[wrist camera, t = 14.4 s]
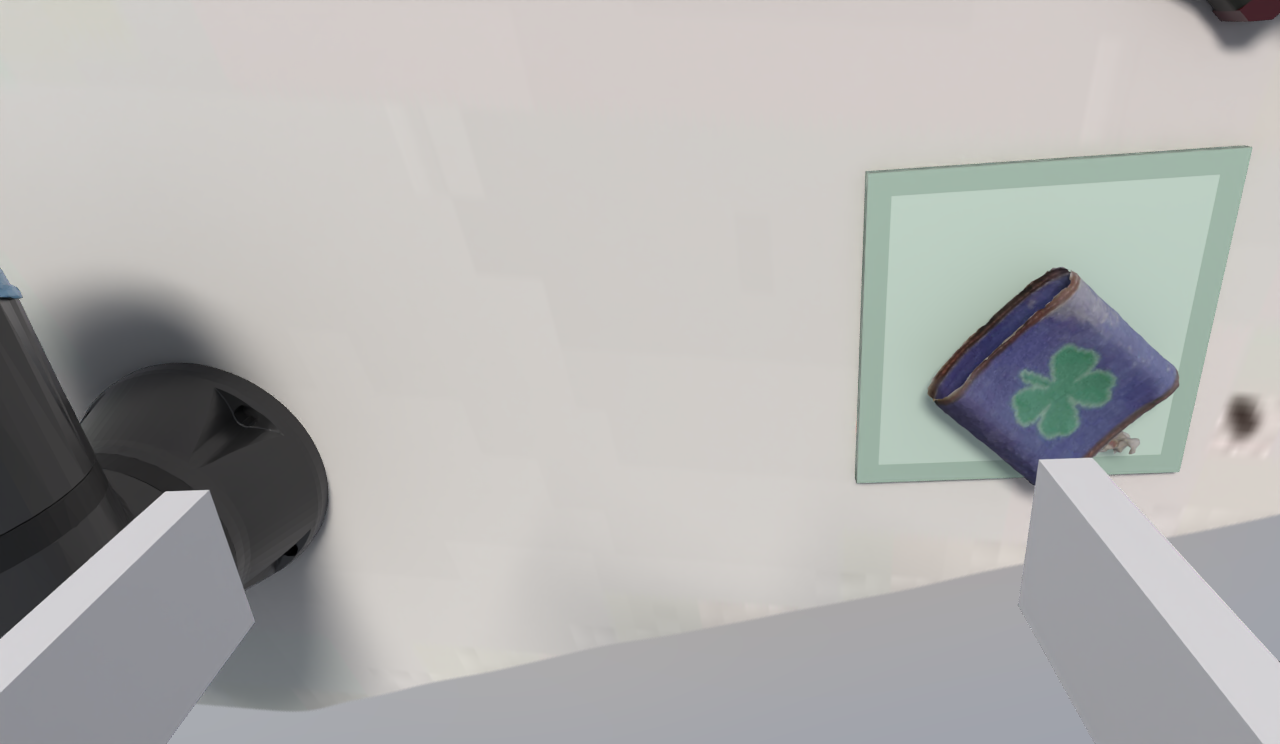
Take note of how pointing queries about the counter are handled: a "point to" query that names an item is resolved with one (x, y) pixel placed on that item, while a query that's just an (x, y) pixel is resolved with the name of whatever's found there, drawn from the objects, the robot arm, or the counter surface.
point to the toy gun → (1245, 9)
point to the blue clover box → (1053, 376)
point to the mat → (1013, 257)
